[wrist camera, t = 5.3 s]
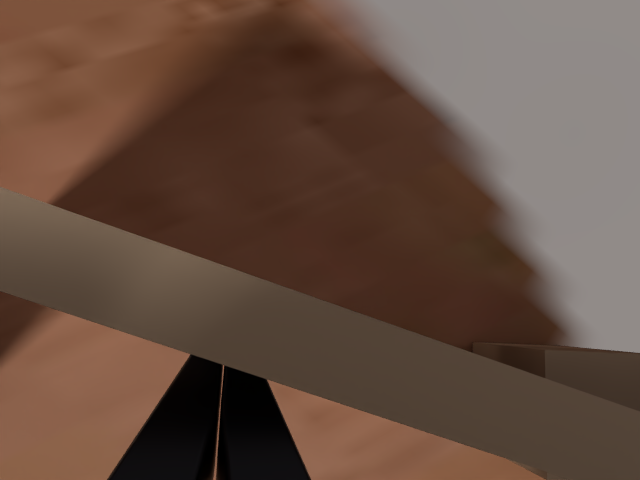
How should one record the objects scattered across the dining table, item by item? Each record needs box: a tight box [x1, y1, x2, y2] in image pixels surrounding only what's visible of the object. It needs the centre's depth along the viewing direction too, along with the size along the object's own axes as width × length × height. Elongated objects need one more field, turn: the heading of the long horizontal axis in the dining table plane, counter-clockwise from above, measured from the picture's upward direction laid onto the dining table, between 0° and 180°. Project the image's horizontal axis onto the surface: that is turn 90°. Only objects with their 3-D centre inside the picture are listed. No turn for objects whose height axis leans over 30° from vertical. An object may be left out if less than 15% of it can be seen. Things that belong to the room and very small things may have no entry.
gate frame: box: [473, 342, 640, 480], centre depth 14 cm, size 3×19×4 cm, turn 87°
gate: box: [0, 187, 640, 480], centre depth 11 cm, size 1×14×9 cm, turn 71°
